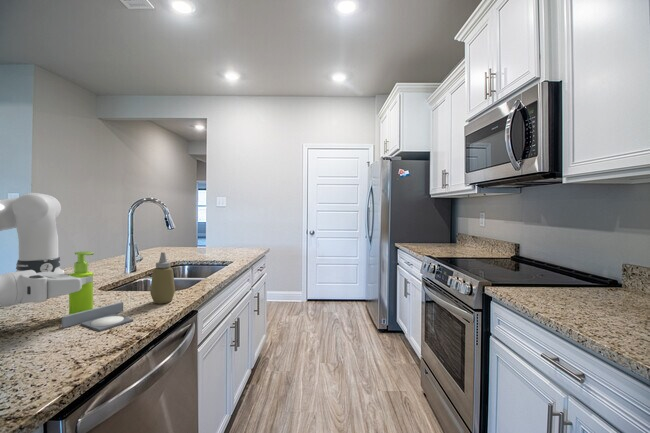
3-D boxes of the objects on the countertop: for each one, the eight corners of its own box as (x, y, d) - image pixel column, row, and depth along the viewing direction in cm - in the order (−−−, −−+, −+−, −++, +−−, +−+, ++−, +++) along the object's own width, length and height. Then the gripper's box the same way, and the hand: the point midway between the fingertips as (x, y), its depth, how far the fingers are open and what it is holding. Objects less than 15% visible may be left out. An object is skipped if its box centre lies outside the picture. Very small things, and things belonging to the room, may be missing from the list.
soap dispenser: (82, 319, 92) (82, 253, 92) (64, 317, 94) (63, 252, 93) (100, 312, 98) (100, 251, 98) (82, 311, 99) (82, 250, 99)
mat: (80, 324, 88) (80, 322, 88) (114, 315, 96) (114, 313, 96) (99, 331, 83) (99, 329, 83) (133, 321, 91) (133, 319, 91)
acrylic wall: (61, 327, 86) (61, 316, 86) (121, 310, 100) (121, 301, 100) (63, 327, 85) (63, 317, 85) (123, 311, 99) (123, 302, 99)
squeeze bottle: (176, 297, 116) (176, 250, 115) (174, 303, 108) (174, 253, 108) (152, 299, 113) (152, 251, 112) (148, 306, 105) (148, 254, 105)
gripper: (9, 292, 88) (66, 283, 100) (42, 303, 79) (101, 291, 91) (9, 271, 88) (66, 264, 100) (41, 279, 79) (101, 270, 91)
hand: (83, 277), depth 96 cm, fingers open, 8 cm apart
